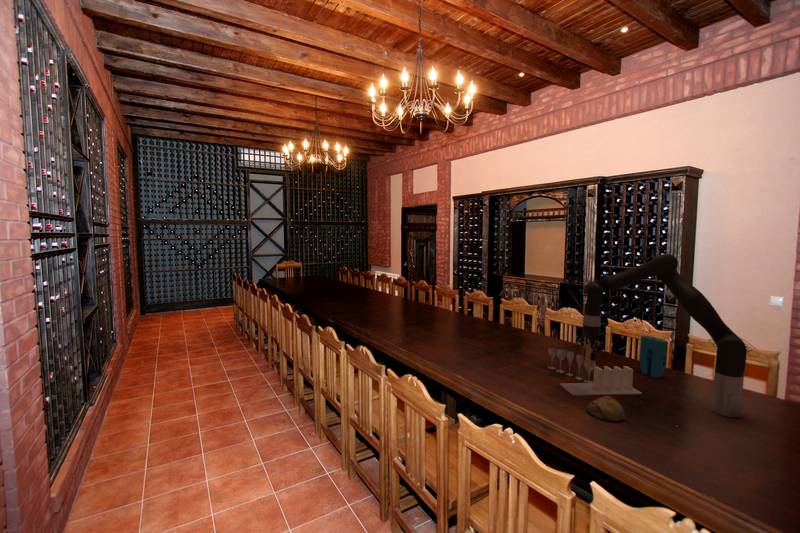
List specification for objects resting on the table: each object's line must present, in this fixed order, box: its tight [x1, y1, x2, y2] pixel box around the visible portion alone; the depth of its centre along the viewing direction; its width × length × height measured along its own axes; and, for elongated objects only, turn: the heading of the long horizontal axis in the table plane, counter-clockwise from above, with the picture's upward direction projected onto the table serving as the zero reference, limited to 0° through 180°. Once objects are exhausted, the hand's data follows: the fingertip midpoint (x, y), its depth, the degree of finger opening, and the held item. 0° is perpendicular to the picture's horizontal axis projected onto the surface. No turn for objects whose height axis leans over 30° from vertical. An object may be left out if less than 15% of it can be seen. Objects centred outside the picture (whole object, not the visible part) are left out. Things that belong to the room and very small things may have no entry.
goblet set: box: [547, 346, 597, 383], centre depth 202 cm, size 28×6×13 cm, turn 29°
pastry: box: [586, 395, 627, 422], centre depth 157 cm, size 14×12×8 cm
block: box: [639, 335, 669, 379], centre depth 202 cm, size 12×5×20 cm, turn 21°
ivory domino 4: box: [622, 365, 634, 390], centre depth 184 cm, size 5×2×10 cm, turn 4°
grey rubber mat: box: [559, 382, 643, 397], centre depth 184 cm, size 13×34×1 cm, turn 94°
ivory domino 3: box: [612, 365, 623, 390], centre depth 184 cm, size 5×2×10 cm, turn 4°
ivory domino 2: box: [603, 365, 614, 390], centre depth 184 cm, size 5×2×10 cm, turn 4°
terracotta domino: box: [584, 344, 594, 367], centre depth 182 cm, size 5×2×10 cm, turn 4°
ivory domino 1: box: [592, 366, 604, 390], centre depth 183 cm, size 5×2×10 cm, turn 4°
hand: (589, 358), depth 182 cm, fingers closed on terracotta domino, 5 cm apart
